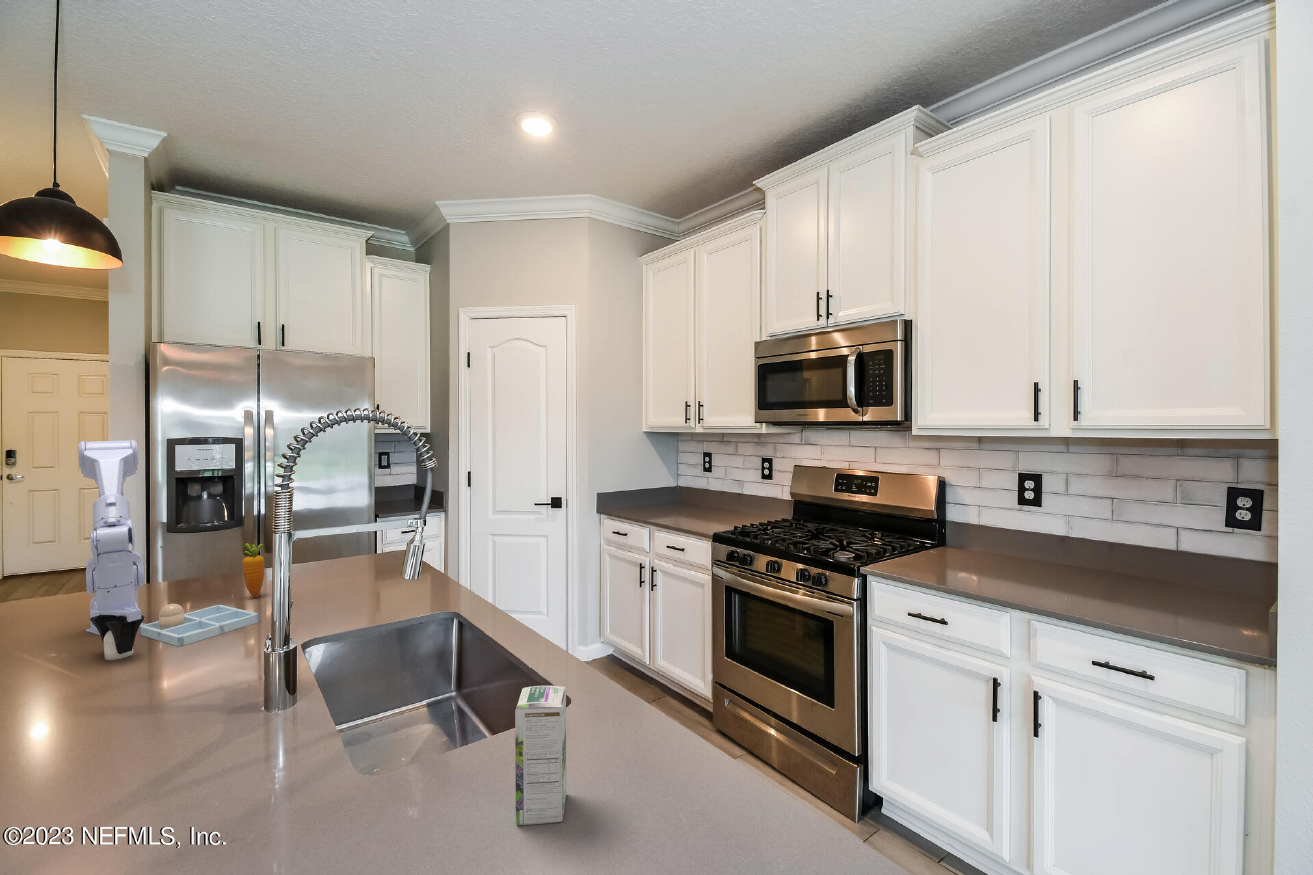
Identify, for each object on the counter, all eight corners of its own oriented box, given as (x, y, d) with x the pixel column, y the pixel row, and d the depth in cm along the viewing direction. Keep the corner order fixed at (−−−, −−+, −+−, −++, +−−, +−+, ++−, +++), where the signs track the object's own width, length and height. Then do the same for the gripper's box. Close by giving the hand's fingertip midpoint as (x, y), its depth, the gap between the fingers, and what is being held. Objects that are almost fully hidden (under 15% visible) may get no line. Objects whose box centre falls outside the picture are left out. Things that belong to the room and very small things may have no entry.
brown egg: (155, 632, 135) (154, 605, 135) (178, 626, 139) (176, 599, 139) (166, 635, 133) (164, 608, 133) (188, 629, 137) (187, 602, 137)
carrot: (270, 595, 164) (268, 540, 164) (256, 600, 159) (254, 544, 159) (253, 594, 165) (251, 540, 164) (239, 600, 160) (236, 544, 159)
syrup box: (522, 796, 77) (519, 685, 77) (568, 793, 78) (566, 683, 77) (515, 826, 72) (512, 708, 71) (565, 823, 72) (563, 705, 72)
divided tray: (139, 637, 134) (139, 626, 134) (219, 614, 149) (219, 604, 149) (179, 649, 127) (179, 637, 127) (259, 624, 142) (259, 613, 142)
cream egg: (100, 659, 122) (98, 629, 122) (127, 651, 126) (125, 622, 125) (111, 663, 120) (109, 632, 120) (138, 654, 124) (136, 625, 124)
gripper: (72, 585, 122) (76, 651, 122) (108, 594, 115) (112, 663, 116) (116, 576, 128) (119, 639, 129) (152, 584, 122) (155, 650, 122)
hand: (118, 650), depth 123 cm, fingers closed on cream egg, 4 cm apart
